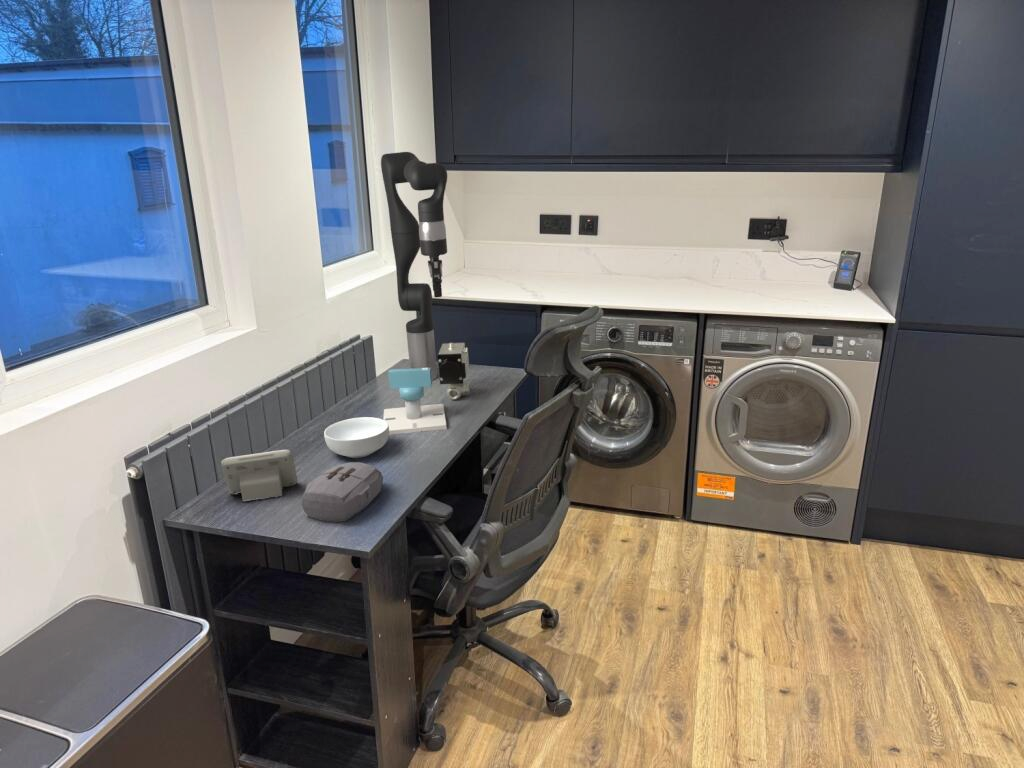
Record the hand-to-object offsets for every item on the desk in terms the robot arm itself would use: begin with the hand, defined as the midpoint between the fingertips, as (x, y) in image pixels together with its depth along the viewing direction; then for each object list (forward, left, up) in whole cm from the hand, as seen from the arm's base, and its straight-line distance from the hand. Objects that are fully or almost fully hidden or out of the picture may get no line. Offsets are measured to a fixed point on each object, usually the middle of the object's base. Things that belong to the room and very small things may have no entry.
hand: (437, 294), depth 206 cm
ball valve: (-12, +4, -36) cm, 38 cm away
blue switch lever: (+6, -10, -28) cm, 31 cm away
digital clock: (+43, -47, -36) cm, 73 cm away
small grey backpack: (+53, -26, -36) cm, 69 cm away
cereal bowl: (+25, -25, -36) cm, 51 cm away
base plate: (+6, -10, -36) cm, 38 cm away
